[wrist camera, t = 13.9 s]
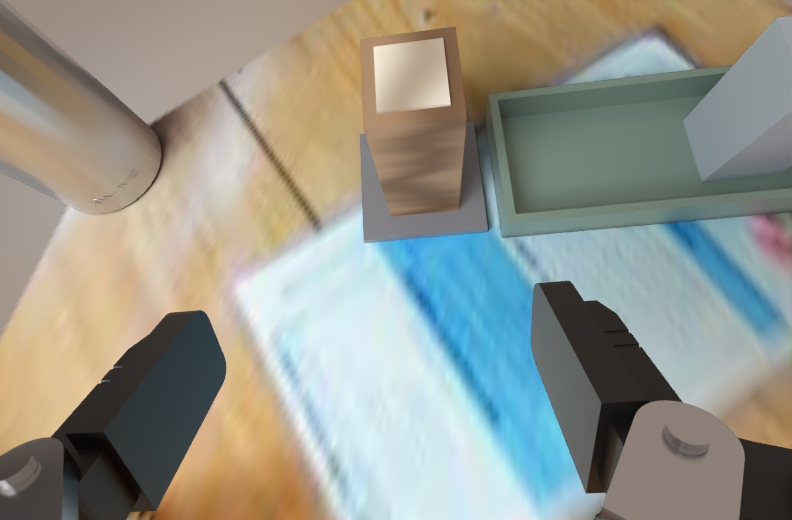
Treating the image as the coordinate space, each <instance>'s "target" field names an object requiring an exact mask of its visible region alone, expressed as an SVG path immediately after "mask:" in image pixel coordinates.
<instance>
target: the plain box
mask: <svg viewBox="0 0 792 520" xmlns="http://www.w3.org/2000/svg"><path fill="white" fill-rule="evenodd" d="M683 123H684V127H685V130H686V133H687V136H688V140H689V143H690V146H691V149H692V152H693V156H694V159H695V162H696V165H697V169H698V172H699V175H700V178H701V182H707V181H717V180H728V179H738V178H748V177H758V176H769V175H778V174H780V173H781V172H783V171H785V170H786V169H788V168H789V167H791V166H792V16H785V17H778V18H776V19H775V20H774V21H773V22H772V23H771V24H770V25H769V26H768V27H767V29H766V30H765V31H764V32H763V33H762V34H761V35H760V36H759V37H758V39H757V40H756V41H755V42H754V43H753V44H752V45H751V46H750V47H749V48H748V50H747V51H746V52H745V53H744V54H743V55H742V56H741V57H740V58H739V60H738V61H737V62H736V63H735V64H734V65H733V66H732V67H731V68H730V70H729V71H728V72H727V73H726V74H725V75H724V76H723V77H722V78H721V79H720V81H719V82H718V83H717V84H716V85H715V86H714V87H713V88H712V89H711V91H710V92H709V93H708V94H707V95H706V96H705V97H704V98H703V99H702V100H701V102H700V103H699V104H698V105H697V106H696V107H695V108H694V109H693V110H692V112H691V113H690V114H689V115H688V116H687V117H686V118H685V119H684V120H683Z"/></svg>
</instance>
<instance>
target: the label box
mask: <svg viewBox="0 0 792 520" xmlns="http://www.w3.org/2000/svg"><path fill="white" fill-rule="evenodd" d="M360 46H361V73H362V100H363V126H364V132H365V135H366V138H367V142H368V145H369V148H370V151H371V155H372V158H373V161H374V164H375V168H376V171H377V174H378V177H379V181H380V184H381V187H382V190H383V194H384V197H385V200H386V203H387V207H388V210H389V213H390V216H391V217H392V216H403V215H413V214H424V213H434V212H445V211H456V210H459V199H460V187H461V176H462V165H463V153H464V142H465V131H466V120H467V115H466V107H465V99H464V91H463V83H462V75H461V67H460V59H459V51H458V43H457V35H456V27H449V28H442V29H434V30H427V31H419V32H412V33H404V34H397V35H389V36H382V37H374V38H367V39H360Z"/></svg>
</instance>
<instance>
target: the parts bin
mask: <svg viewBox="0 0 792 520" xmlns="http://www.w3.org/2000/svg"><path fill="white" fill-rule="evenodd" d="M732 66H733V65H728V66H719V67H711V68H703V69H694V70H686V71H678V72H669V73H661V74H653V75H644V76H636V77H628V78H619V79H611V80H602V81H594V82H586V83H577V84H569V85H561V86H552V87H544V88H536V89H527V90H519V91H511V92H502V93H494V94H488V101H487V107H486V114H485V122H486V129H487V136H488V143H489V150H490V157H491V164H492V171H493V178H494V185H495V192H496V199H497V207H498V214H499V221H500V228H501V235H502V238H507V237H518V236H529V235H540V234H551V233H562V232H573V231H584V230H596V229H607V228H618V227H629V226H640V225H651V224H662V223H673V222H684V221H696V220H707V219H718V218H729V217H740V216H751V215H762V214H773V213H785V212H792V166H791V167H789V168H788V169H786V170H785V171H783V172H781V173H780V174H778V175H769V176H758V177H748V178H738V179H728V180H717V181H707V182H701V178H700V175H699V172H698V169H697V165H696V162H695V159H694V156H693V152H692V149H691V146H690V143H689V140H688V136H687V133H686V130H685V127H684V123H683V120H684V119H685V118H686V117H687V116H688V115H689V114H690V113H691V112H692V110H693V109H694V108H695V107H696V106H697V105H698V104H699V103H700V102H701V100H702V99H703V98H704V97H705V96H706V95H707V94H708V93H709V92H710V91H711V89H712V88H713V87H714V86H715V85H716V84H717V83H718V82H719V81H720V79H721V78H722V77H723V76H724V75H725V74H726V73H727V72H728V71H729V70H730V68H731V67H732Z"/></svg>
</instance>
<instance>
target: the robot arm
mask: <svg viewBox="0 0 792 520" xmlns="http://www.w3.org/2000/svg"><path fill="white" fill-rule="evenodd" d="M161 155H162V153H161V144H160V142H159V139H158V136H157V135H156V133H155V132H154V131H153V129H152V128H151V127H149V126H148V125H147V124H146V123H145V122H144V121H143V120H142V119H140V118H139V117H138V116H137V115H136V114H135V113H134V112H132V111H131V110H130V109H129V108H128V107H127V106H126V105H125V104H123V103H122V102H121V101H120V100H119V99H118V98H117V97H116V96H115V95H114V94H112V92H110V91H109V90H108V89H107V88H106V87H105V86H104V85H102V84H101V83H100V82H99V81H98V80H97V79H96V78H95V77H93V76H92V75H91V74H90V73H89V72H88V71H87V70H86V69H84V68H83V67H82V66H81V65H80V64H79V63H78V62H77V61H75V60H74V59H73V58H72V57H71V56H70V55H69V54H67V53H66V52H65V51H64V50H63V49H62V48H61V47H59V46H58V45H57V44H56V43H55V42H54V41H53V40H52V39H51V38H50V37H48V36H47V35H46V34H45V33H44V32H43V31H42V30H40V29H39V28H38V27H37V26H36V25H35V24H34V23H33V22H31V21H30V20H29V19H28V18H27V17H26V16H25V15H23V14H22V13H21V12H20V11H19V10H18V9H17V8H16V7H14V6H13V5H12V4H11V3H10V2H9V1H8V0H0V173H2V174H4V175H7V176H8V177H11V178H13V179H15V180H17V181H19V182H21V183H23V184H25V185H27V186H29V187H31V188H33V189H35V190H37V191H39V192H41V193H43V194H45V195H47V196H50V197H51V198H54V199H56V200H58V201H60V202H62V203H64V204H66V205H68V206H70V207H72V208H74V209H76V210H78V211H80V212H84V213H88V214H106V213H111V212H114V211H117V210H119V209H122V208H124V207H126V206H127V205H129V204H131V203H132V202H134V201H135V200H136V199H137V198H139V197H140V196H141V195H142V194H143V193H144V192H145V191H146V190H147V188H148V187H149V186H150V185H151V183H152V182H153V180H154V178H155V176H156V175H157V172H158V169H159V166H160V162H161ZM531 345H532V352H533V357H534V361H535V363H536V366H537V369H538V371H539V374H540V376H541V379H542V382H543V384H544V387H545V389H546V392H547V394H548V397H549V400H550V402H551V405H552V407H553V410H554V412H555V415H556V418H557V420H558V423H559V425H560V428H561V430H562V433H563V436H564V438H565V441H566V443H567V446H568V448H569V451H570V454H571V456H572V459H573V461H574V464H575V467H576V469H577V472H578V474H579V477H580V479H581V482H582V485H583V487H584V490H585V492H586V493H606V498H605V500H604V503H603V506H602V509H601V511H600V513H599V514H597V515H596V516H595V518H594V520H792V449H788V448H783V447H778V446H772V445H767V444H762V443H757V442H752V441H748V440H744V439H741V438H738V437H737V436H736V435H735V434H734V432H733V431H732V430H731V429H730V428H729V427H728V426H727V425H726V424H724V423H723V422H722V421H721V420H719V419H718V418H716V417H715V416H713V415H712V414H710V413H708V412H706V411H704V410H703V409H700V408H698V407H695V406H693V405H689V404H686V403H683V402H682V401H681V400H680V398H679V397H678V396H677V394H676V393H675V391H674V390H673V389H672V387H671V386H670V385H669V383H668V382H667V381H666V379H665V378H664V377H663V375H662V374H661V373H660V371H659V370H658V369H657V367H656V366H655V365H654V363H653V362H652V361H651V359H650V358H649V357H648V355H647V354H646V353H645V351H644V350H643V349H642V347H639V343H638V342H637V341H636V339H635V338H634V337H633V335H632V334H631V333H629V331H628V328H627V327H626V326H625V324H624V323H623V322H622V320H621V319H620V318H619V316H618V315H617V314H616V313H615V312H613V311H612V310H610V309H609V308H607V307H606V306H604V305H603V304H601V303H600V302H598V301H597V300H596V301H583V299H582V298H581V296H580V294H579V293H578V291H577V290H576V288H575V287H574V285H573V284H572V283H571V282H570V281H560V282H548V283H536V284H535V286H534V290H533V306H532V326H531ZM113 367H114V369H112V370H110V371H109V372H108V373H107V374H106V375H105V376H104V377H103V379H102V380H101V384H97V385H96V387H95V388H94V389H93V390H92V391H91V392H90V393H89V395H88V396H87V397H86V398H85V399H84V400H83V401H82V402H81V404H80V405H79V406H78V407H77V408H76V409H75V410H74V412H73V413H72V414H71V415H70V416H69V417H68V418H67V419H66V421H65V422H64V423H63V424H62V425H61V426H60V427H59V429H58V430H57V431H56V432H55V433H54V434H53V435H52V436H51V438H49V437H48V438H40V439H35V440H32V441H29V442H26V443H24V444H22V445H19V446H17V447H15V448H13V449H11V450H10V451H8V452H6V453H5V454H3V455H1V456H0V520H126V519H127V517H128V515H129V514H130V512H139V511H156V510H157V508H158V506H159V504H160V502H161V500H162V498H163V497H164V495H165V493H166V491H167V489H168V487H169V485H170V483H171V481H172V479H173V478H174V476H175V474H176V472H177V470H178V468H179V466H180V464H181V462H182V460H183V458H184V457H185V455H186V453H187V451H188V449H189V447H190V445H191V443H192V441H193V439H194V438H195V436H196V434H197V432H198V430H199V428H200V426H201V424H202V422H203V420H204V419H205V417H206V415H207V413H208V411H209V409H210V407H211V405H212V403H213V401H214V399H215V398H216V396H217V394H218V392H219V390H220V388H221V386H222V384H223V382H224V379H225V375H226V361H225V357H224V355H223V352H222V350H221V347H220V345H219V342H218V340H217V337H216V335H215V332H214V330H213V328H212V325H211V323H210V320H209V318H208V316H207V314H206V313H205V312H203V311H201V310H198V311H186V312H174V313H169V314H167V315H166V316H165V317H164V318H163V319H162V320H161V322H160V323H159V324H158V325H157V326H156V327H155V329H154V330H153V331H152V332H151V333H150V335H148V336H146V337H145V338H143V339H142V340H141V341H139V342H138V343H137V344H135V345H134V346H132V347H131V348H130V349H128V350H127V351H126V353H125V354H124V355H123V356H122V357H121V358H120V359H119V360H118V362H117V363H116V364H115V365H114V366H113Z"/></svg>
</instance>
